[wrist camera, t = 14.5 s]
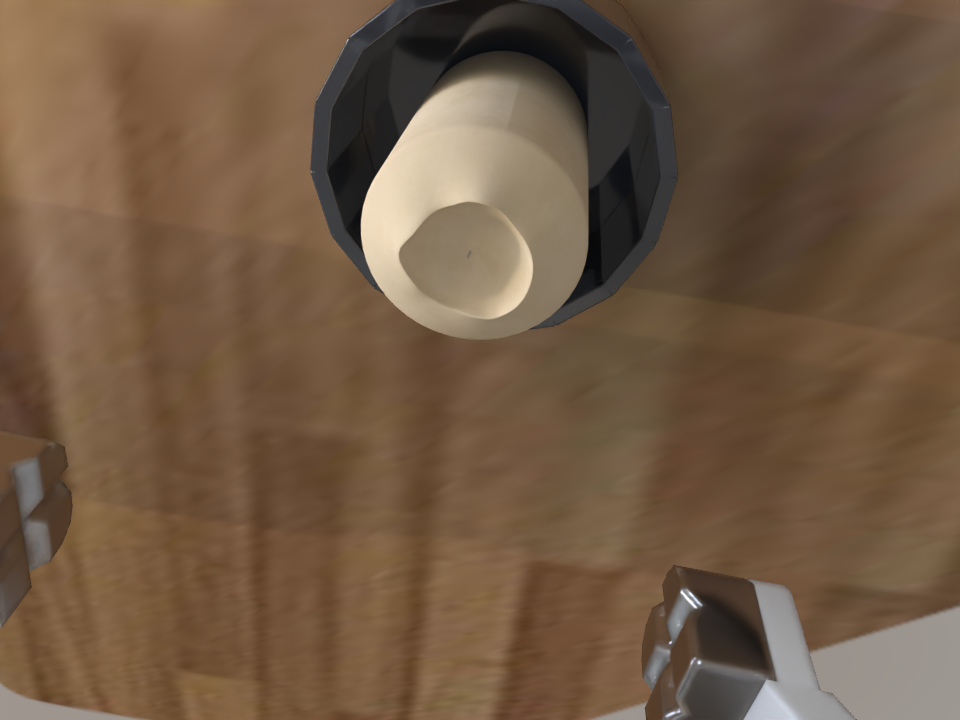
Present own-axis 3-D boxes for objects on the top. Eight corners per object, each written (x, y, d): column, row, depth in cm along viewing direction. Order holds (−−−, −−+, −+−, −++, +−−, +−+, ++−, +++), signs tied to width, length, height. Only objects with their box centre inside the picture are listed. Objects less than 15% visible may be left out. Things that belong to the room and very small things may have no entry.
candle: (403, 188, 29) (326, 333, 20) (443, 24, 26) (372, 113, 17) (556, 235, 29) (544, 397, 21) (613, 78, 26) (625, 192, 18)
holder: (340, 232, 31) (301, 295, 26) (370, -78, 25) (325, -62, 21) (615, 290, 31) (619, 362, 26) (703, -8, 25) (727, 23, 21)
